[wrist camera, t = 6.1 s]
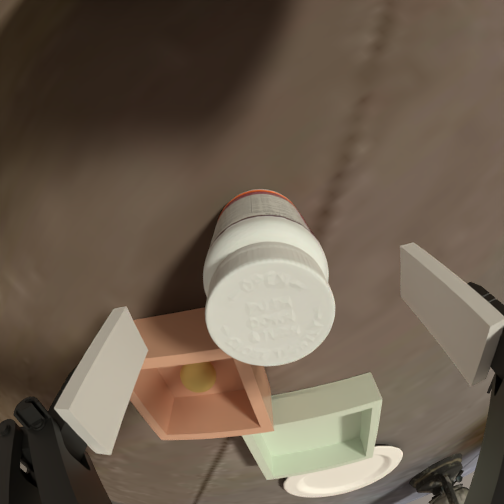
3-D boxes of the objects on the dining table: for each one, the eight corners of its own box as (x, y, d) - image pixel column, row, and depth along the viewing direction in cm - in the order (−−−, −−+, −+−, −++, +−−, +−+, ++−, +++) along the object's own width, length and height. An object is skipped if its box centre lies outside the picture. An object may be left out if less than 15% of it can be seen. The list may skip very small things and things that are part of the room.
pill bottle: (290, 273, 23) (321, 381, 13) (211, 260, 23) (187, 366, 12) (310, 196, 21) (371, 262, 10) (224, 179, 20) (201, 232, 10)
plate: (265, 490, 41) (266, 498, 39) (315, 439, 33) (317, 449, 32) (360, 487, 44) (361, 493, 42) (423, 434, 36) (426, 442, 34)
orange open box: (125, 321, 25) (103, 362, 20) (243, 299, 24) (243, 344, 19) (170, 399, 29) (161, 439, 24) (270, 387, 28) (274, 431, 23)
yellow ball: (178, 352, 25) (171, 377, 22) (211, 348, 25) (208, 373, 22) (190, 376, 27) (185, 401, 24) (221, 372, 26) (219, 397, 23)
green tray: (239, 400, 29) (238, 430, 25) (370, 372, 28) (382, 399, 24) (265, 456, 34) (266, 479, 31) (365, 435, 33) (372, 457, 30)
